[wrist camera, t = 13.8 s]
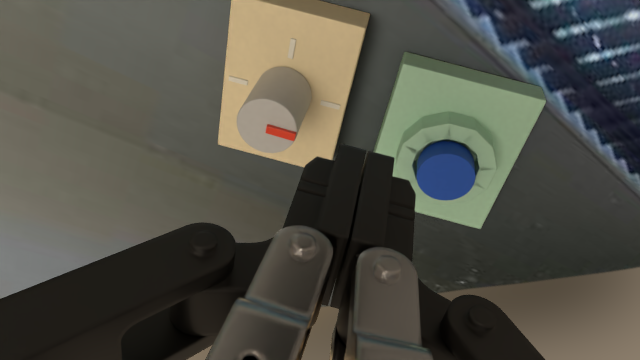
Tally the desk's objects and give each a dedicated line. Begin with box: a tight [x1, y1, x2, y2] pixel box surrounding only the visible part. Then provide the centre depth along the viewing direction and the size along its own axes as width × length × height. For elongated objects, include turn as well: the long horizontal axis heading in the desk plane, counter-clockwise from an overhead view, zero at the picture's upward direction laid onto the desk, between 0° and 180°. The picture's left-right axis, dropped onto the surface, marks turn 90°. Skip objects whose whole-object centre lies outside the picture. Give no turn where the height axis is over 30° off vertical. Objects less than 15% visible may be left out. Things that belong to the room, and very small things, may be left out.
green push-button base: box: [373, 52, 546, 229], centre depth 40 cm, size 12×10×4 cm
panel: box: [218, 0, 370, 167], centre depth 39 cm, size 12×9×3 cm
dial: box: [237, 67, 312, 153], centre depth 36 cm, size 4×4×5 cm
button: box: [417, 141, 476, 200], centre depth 38 cm, size 4×4×2 cm
